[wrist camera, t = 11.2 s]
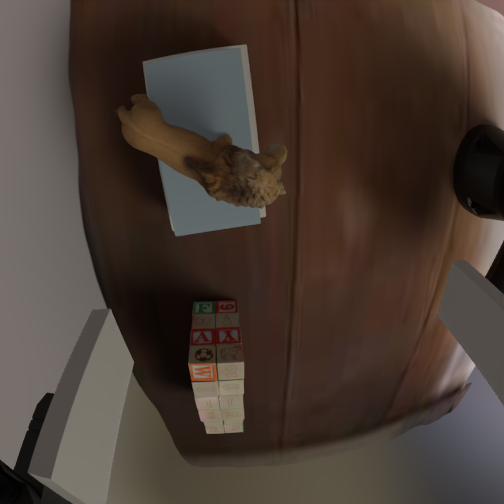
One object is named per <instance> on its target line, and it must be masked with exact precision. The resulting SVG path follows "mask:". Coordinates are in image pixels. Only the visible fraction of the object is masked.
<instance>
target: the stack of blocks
mask: <svg viewBox="0 0 504 504" xmlns="http://www.w3.org/2000/svg"><path fill="white" fill-rule="evenodd" d="M238 314H239V313H238V306H237V300H224V301H202V302H194V303H193V311H192V317H193V318H192V330H191V334H190V350H189V360H188V365H189V370H190V375H191V380H192V387H193V391H194V395H195V402H196V406H197V409H198V412H199V416H200V420H201V421H203V422H204V425H205V428H206V433H207V434H213V433H232V432H243V419H244V405H243V394H244V357H243V349H242V341H241V332H240V326H239V317H238Z"/></svg>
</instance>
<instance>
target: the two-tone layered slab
mask: <svg viewBox="0 0 504 504" xmlns="http://www.w3.org/2000/svg"><path fill="white" fill-rule="evenodd" d="M143 69H144V77H145V85H146V92H147V96H148V98H149V100H150V101H152V102H154V103H155V104H156V105H157V106H158V107H159V108H160V110H161V112H162V116H163V119H164V121H165V122H167V123H168V124H171V125H175V126H179V127H182V128H185V129H187V130H191V131H193V132H196V133H198V134H200V135H202V136H204V137H205V138H207V139H208V140H209V141H215V140H216V139H217V138H218V137H220V136H224V135H230V137H231V138H232V140H233V141H232V143H233V145H236V146H238V147H239V148H242V149H248V150H250V151H252V152H254V153H255V154H258V153H259V145H258V136H257V127H256V118H255V110H254V101H253V93H252V84H251V76H250V68H249V60H248V52H247V45H237V46H227V47H219V48H212V49H205V50H198V51H192V52H186V53H181V54H176V55H171V56H166V57H161V58H156V59H152V60H148V61H144V62H143ZM158 164H159V169H160V174H161V179H162V184H163V189H164V194H165V199H166V203H167V208H168V213H169V217H170V222H171V226H172V230H173V231H174V232H175V236H181V235H187V234H194V233H200V232H207V231H213V230H220V229H226V228H233V227H240V226H247V225H254V224H260V223H261V221H260V217H266V211H265V207H264V208H263V209H260V208H251V207H250V206H248V207H244V206H240V207H236V206H235V205H234V204H229V203H228V202H225V201H222V200H221V201H217V200H216V199H215V198H212V197H210V196H209V195H208V193H207V192H206V190H205V189H204V187H202V186H201V185H200V184H199V183H198V182H197V181H196V180H194V179H191V178H189V177H186V176H185V175H183V174H181V173H179V172H177V171H175V170H174V169H172V168H171V167H169V166H168V165H167V164H165V163H164V162H162V161H161V160H159V159H158Z"/></svg>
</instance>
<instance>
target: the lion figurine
mask: <svg viewBox="0 0 504 504" xmlns="http://www.w3.org/2000/svg"><path fill="white" fill-rule="evenodd" d="M131 102H132V103H133V104H135V105H134V106H133V107H132V109H131V110H130V111H128V110H126V108H125V106H120V107H119V108H118V109H115V110H111V111H109V112H108V116H113V117H117V116H119V118H120V120H121V122H122V134H123V137H124V138H125V140H126V141H127V142H128V143H129V144H130V145H131V146H132V147H134V148H136V149H138V150H141V151H143V152H146V153H149V154H151V155H153V156H155V157H156V158H158V159H159V160H161V161H162V162H164V163H165V164H167V165H168V166H169V167H171V168H172V169H174V170H175V171H177V172H179V173H181V174H183V175H185V176H186V177H189V178H191V179H194V180H196V181H197V182H198V183H199V184H200V185H201V186H202V187H204V189H205V190H206V192H207V193H208V195H209V196H210V197H212V198H215V199H216V200H217V201H221V200H222V201H225V202H228V203H229V204H234V205H235V206H236V207H240V206H244V207H248V206H250V207H251V208H260V209H263V208H264V207H265V205H269V204H271V203H272V202H273V201H274V200H276V198H277V197H278V195H284V194H285V193H286V191H285V190H284V187H283V184H282V182H281V181H280V177H281V174H282V169H281V165H282V164H283V162H284V161H285V160H286V157H287V149H286V147H285V146H284V145H282V144H278V145H277V144H272V145H270V146H269V147H268V148H267V149H266V150H265V151H264V152H262V153H258V154H255V153H254V152H252V151H250V150H248V149H242V148H239V147H238V146H236V145H233V143H232V141H233V140H232V138H231V137H230V135H224V136H220V137H218V138H217V139H216V140H215V141H209V140H208V139H207V138H205V137H204V136H202V135H200V134H198V133H196V132H193V131H191V130H187V129H185V128H182V127H179V126H175V125H171V124H168V123H167V122H165V121H164V119H163V116H162V112H161V110H160V108H159V107H158V106H157V105H156V104H155V103H154V102H152V101H150V100H149V98H148V96H147V95H146V94H135V95H133V96H132V97H131Z"/></svg>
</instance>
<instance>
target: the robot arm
mask: <svg viewBox="0 0 504 504" xmlns="http://www.w3.org/2000/svg"><path fill="white" fill-rule="evenodd" d="M454 185H455V191H456V194H457V197H458V200H459V202H460V203H461V205H462V206H463V207H464V208H465V209H466V210H467V211H469V212H470V213H472V214H474V215H475V216H477V217H480V218H486V219H494V220H501V221H504V131H503V130H502V129H500V128H497V127H494V126H490V125H479V126H477V127H475V128H473V129H472V130H471V131H470V132H469V133H468V134H467V135H466V136H465V138H464V139H463V141H462V143H461V145H460V147H459V150H458V153H457V156H456V161H455V167H454ZM438 317H439V318H440V320H441V321H442V322H443V323H444V325H445V326H446V327H447V328H448V330H449V331H450V332H451V333H452V335H453V336H454V337H455V338H456V340H457V341H458V342H459V344H460V345H461V346H462V347H463V349H464V350H465V351H466V353H467V354H468V355H469V357H470V358H471V359H472V361H473V362H474V363H475V365H476V366H477V368H478V369H479V370H480V372H481V373H482V375H483V376H484V377H485V379H486V380H487V382H488V383H489V384H490V386H491V387H492V389H493V390H494V392H495V393H496V395H497V396H498V398H499V399H500V401H501V402H502V404H503V405H504V241H503V243H502V245H501V247H500V249H499V251H498V253H497V255H496V257H495V259H494V261H493V263H492V265H491V267H490V269H489V271H488V272H487V274H486V276H485V277H484V276H483V275H482V274H481V273H479V272H478V271H477V270H476V269H475V268H474V267H473V266H471V265H470V264H469V263H468V262H467V261H465V260H460V261H455V262H452V263H451V267H450V272H449V276H448V280H447V284H446V288H445V291H444V295H443V299H442V302H441V306H440V309H439V312H438ZM133 364H134V361H133V359H132V357H131V355H130V353H129V350H128V348H127V346H126V344H125V342H124V339H123V337H122V335H121V333H120V330H119V328H118V326H117V323H116V321H115V318H114V316H113V314H112V311H111V309H100V310H92V312H91V314H90V316H89V318H88V320H87V322H86V324H85V326H84V328H83V330H82V332H81V335H80V337H79V339H78V341H77V343H76V345H75V347H74V350H73V352H72V354H71V356H70V359H69V361H68V363H67V365H66V368H65V370H64V372H63V374H62V377H61V379H60V382H59V384H58V386H57V389H56V391H55V394H53V393H46V395H45V396H44V397H43V398H42V399H41V401H40V402H39V403H38V404H37V406H36V409H35V412H34V414H33V417H32V418H33V420H31V422H30V424H29V427H28V428H29V430H28V431H27V432H26V435H25V438H24V441H23V444H22V447H21V450H20V453H19V456H18V459H17V462H16V465H15V467H14V470H12V469H11V468H10V467H8V466H7V465H6V464H5V463H4V462H2V461H1V460H0V504H106V501H107V494H108V487H109V481H110V474H111V468H112V462H113V456H114V451H115V446H116V440H117V435H118V430H119V425H120V421H121V416H122V411H123V406H124V402H125V397H126V393H127V389H128V385H129V381H130V376H131V372H132V368H133Z"/></svg>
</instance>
